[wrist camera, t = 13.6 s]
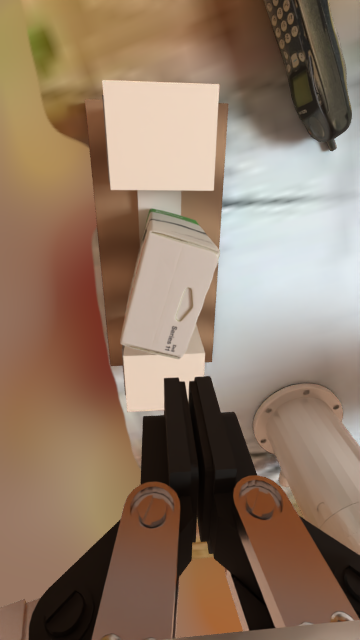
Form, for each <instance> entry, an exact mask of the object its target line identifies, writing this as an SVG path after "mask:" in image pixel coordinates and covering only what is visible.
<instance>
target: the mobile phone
mask: <svg viewBox="0 0 360 640" xmlns="http://www.w3.org/2000/svg"><path fill="white" fill-rule="evenodd" d="M264 3H265V6H266V9H267V12H268V15H269V18H270V21H271V24H272V27H273V30H274V33H275V36H276V39H277V42H278V45H279V48H280V51H281V54H282V57H283V61H284V65H285V68H286V72H287V76H288V80H289V85H290V89H291V95H292V99H293V102H294V105H295V107H296V110H297V112H298V115H299V117H300V119H301V120H302V122H303V123H304V125H305V127H306V128H307V130H308V132H309V134H310V135H311V136H312V137H313V138H314V139H316V140H317V141H320V142H325V141H327V144H328V147H329V150H330V151H333V150H335V149H336V148H337V146H336V143H335V140H334V138H336V137H338V136H339V135H341V134H342V133H343V132H345V131H346V130H347V129H348V127H349V125H350V123H351V118H352V111H351V105H350V101H349V96H348V91H347V82H346V65H345V61H344V58H343V54H342V50H341V45H340V41H339V36H338V33H337V30H336V27H335V24H334V21H333V18H332V14H331V10H330V5H329V0H264Z"/></svg>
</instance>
